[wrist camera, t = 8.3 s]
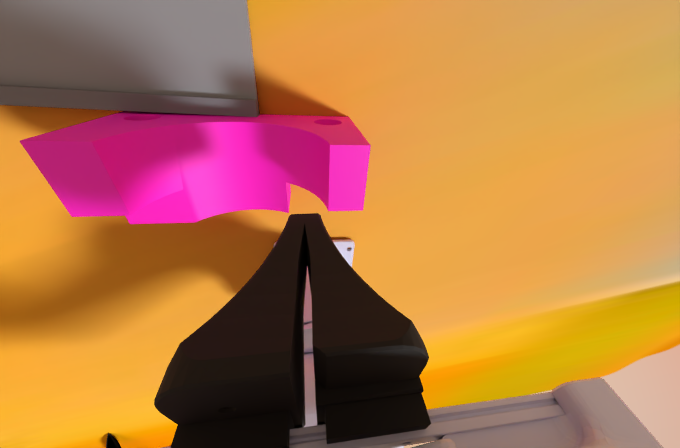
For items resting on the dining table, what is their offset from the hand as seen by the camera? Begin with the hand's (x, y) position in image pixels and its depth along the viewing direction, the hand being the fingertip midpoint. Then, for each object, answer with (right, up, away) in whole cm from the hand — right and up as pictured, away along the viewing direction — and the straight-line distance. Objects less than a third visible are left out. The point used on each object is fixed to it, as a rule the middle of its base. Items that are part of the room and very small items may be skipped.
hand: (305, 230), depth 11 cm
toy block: (-5, +6, +8) cm, 11 cm away
